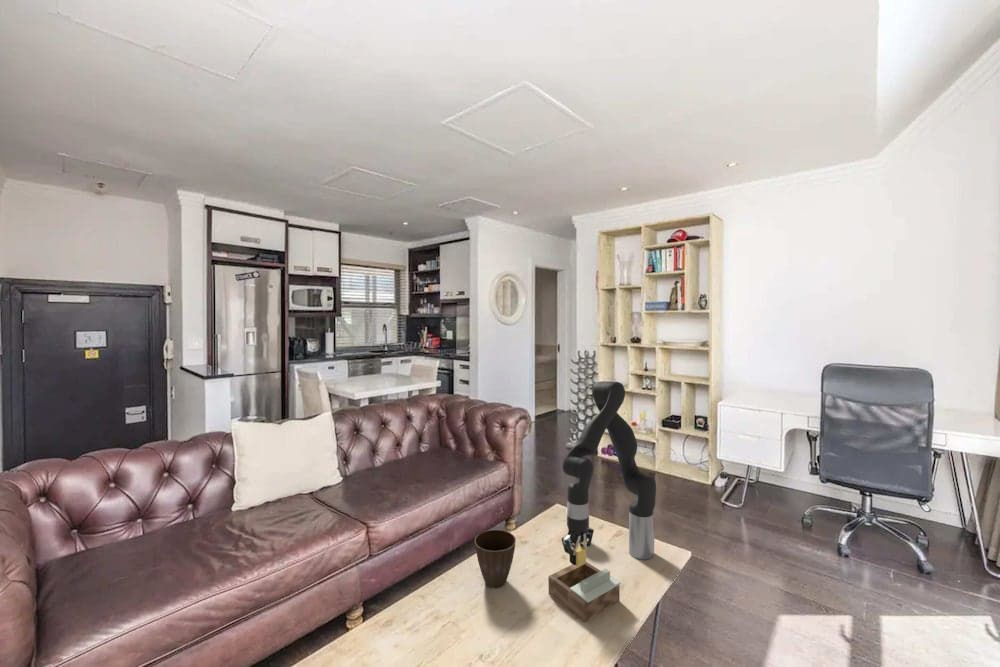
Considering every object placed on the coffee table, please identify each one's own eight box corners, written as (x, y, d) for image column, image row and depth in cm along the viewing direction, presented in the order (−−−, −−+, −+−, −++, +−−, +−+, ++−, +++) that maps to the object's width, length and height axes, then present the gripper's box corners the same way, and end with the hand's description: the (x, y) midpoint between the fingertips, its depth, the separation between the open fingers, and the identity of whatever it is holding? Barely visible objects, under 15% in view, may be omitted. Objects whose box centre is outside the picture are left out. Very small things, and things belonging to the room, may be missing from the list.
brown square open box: (582, 576, 161) (582, 559, 161) (619, 600, 147) (619, 582, 147) (548, 594, 151) (548, 576, 151) (584, 622, 137) (584, 602, 137)
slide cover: (602, 572, 152) (602, 562, 152) (620, 583, 146) (620, 573, 145) (569, 589, 143) (569, 579, 143) (587, 602, 136) (587, 591, 136)
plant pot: (505, 566, 168) (504, 526, 167) (523, 588, 155) (523, 544, 154) (469, 576, 162) (468, 535, 161) (485, 600, 148) (484, 555, 147)
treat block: (577, 557, 153) (577, 543, 153) (586, 562, 150) (586, 548, 150) (569, 561, 151) (569, 547, 151) (577, 566, 148) (577, 552, 148)
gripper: (584, 504, 157) (584, 550, 158) (555, 515, 149) (555, 563, 150) (600, 511, 151) (600, 559, 152) (570, 523, 143) (570, 574, 143)
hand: (577, 561), depth 151 cm, fingers closed on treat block, 4 cm apart
